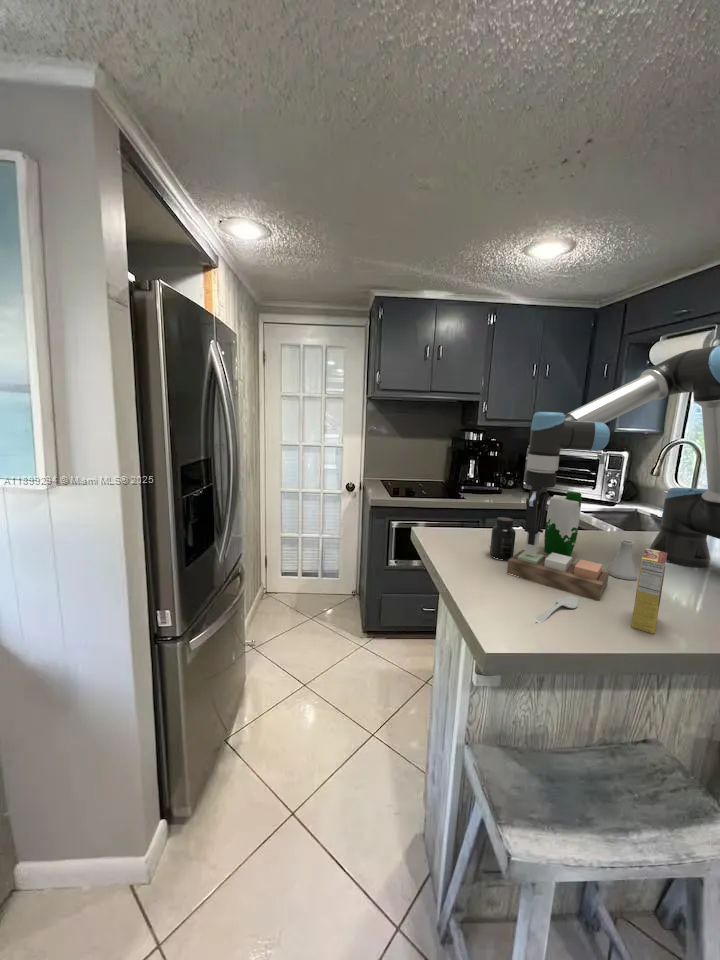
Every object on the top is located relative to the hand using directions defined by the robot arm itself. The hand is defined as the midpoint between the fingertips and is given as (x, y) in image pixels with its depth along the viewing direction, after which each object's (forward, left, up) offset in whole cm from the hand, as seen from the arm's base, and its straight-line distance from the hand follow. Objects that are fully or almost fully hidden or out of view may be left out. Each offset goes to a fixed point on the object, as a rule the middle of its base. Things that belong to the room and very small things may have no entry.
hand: (530, 554), depth 108 cm
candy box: (-27, +11, -5) cm, 30 cm away
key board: (-7, 0, -5) cm, 9 cm away
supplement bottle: (+10, -6, -5) cm, 13 cm away
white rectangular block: (-7, 0, -3) cm, 8 cm away
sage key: (0, 0, -4) cm, 4 cm away
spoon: (-11, +21, -6) cm, 24 cm away
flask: (-20, -17, -5) cm, 27 cm away
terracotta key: (-14, 0, -3) cm, 14 cm away
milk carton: (-2, -24, -5) cm, 25 cm away
